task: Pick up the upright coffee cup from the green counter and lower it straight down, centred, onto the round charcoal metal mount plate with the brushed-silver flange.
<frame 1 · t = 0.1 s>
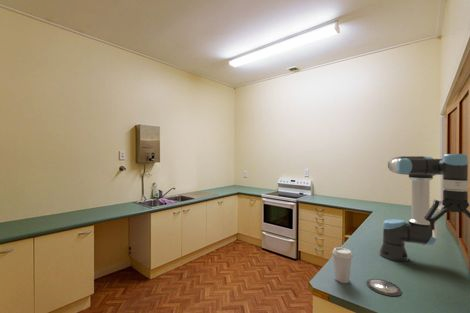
hand: (455, 240, 96), 28 cm above the countertop, fingers open, 13 cm apart
coffee cup: (342, 280, 116), on the countertop
mount plate: (383, 287, 109), on the countertop
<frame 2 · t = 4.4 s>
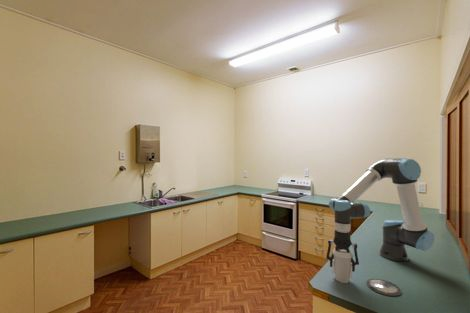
hand: (342, 275, 116), 2 cm above the countertop, fingers closed on coffee cup, 8 cm apart
coffee cup: (342, 279, 116), on the countertop, touching gripper
when the fingers open (4 cm above the countertop, at t = 9.4 s): coffee cup drops 1 cm, resting on mount plate.
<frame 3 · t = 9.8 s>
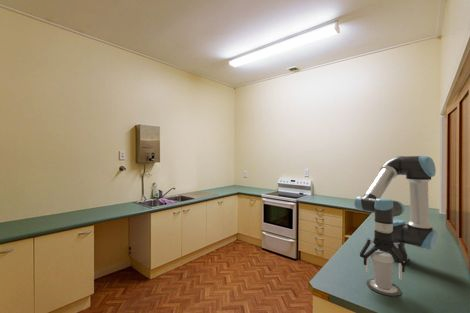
hand: (383, 275, 109), 6 cm above the countertop, fingers open, 13 cm apart
coffee cup: (383, 286, 109), point 1 cm above the countertop, touching mount plate
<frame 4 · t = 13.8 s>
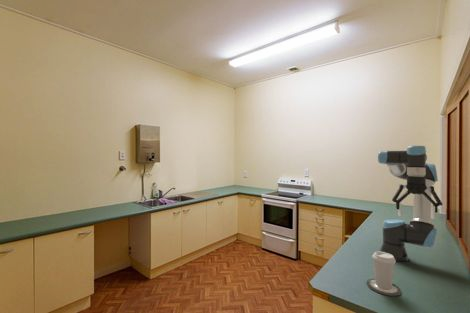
hand: (416, 217, 116), 33 cm above the countertop, fingers open, 13 cm apart
nothing on the countertop moved.
at the end: coffee cup 0.1 cm from the mount plate (horizontally); coffee cup tilted 0°; the gripper is holding nothing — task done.
